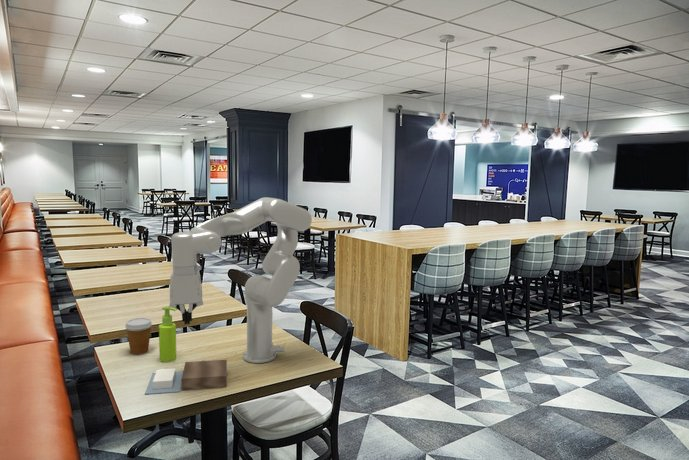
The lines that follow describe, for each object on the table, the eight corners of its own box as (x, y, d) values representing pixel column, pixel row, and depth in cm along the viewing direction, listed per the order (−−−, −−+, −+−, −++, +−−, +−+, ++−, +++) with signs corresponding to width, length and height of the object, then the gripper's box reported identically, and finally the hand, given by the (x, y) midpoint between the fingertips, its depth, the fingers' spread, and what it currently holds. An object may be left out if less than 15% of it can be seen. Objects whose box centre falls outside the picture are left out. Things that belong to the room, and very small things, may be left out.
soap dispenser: (173, 363, 173) (172, 310, 170) (156, 361, 175) (155, 308, 172) (182, 356, 179) (181, 305, 176) (165, 354, 180) (164, 304, 177)
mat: (184, 371, 167) (184, 370, 167) (179, 392, 152) (179, 391, 152) (152, 373, 164) (152, 373, 164) (144, 394, 150) (144, 393, 150)
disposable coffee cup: (148, 356, 178) (147, 325, 177) (122, 356, 178) (120, 325, 176) (156, 346, 188) (155, 317, 186) (131, 346, 187) (130, 317, 185)
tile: (156, 369, 161) (157, 376, 162) (152, 381, 153) (152, 389, 153) (175, 368, 163) (175, 375, 163) (172, 380, 154) (172, 387, 154)
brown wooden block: (226, 370, 169) (226, 359, 168) (226, 387, 156) (226, 375, 156) (185, 372, 166) (185, 362, 165) (181, 390, 153) (181, 378, 153)
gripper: (208, 266, 161) (210, 317, 164) (162, 268, 158) (165, 320, 161) (208, 271, 154) (210, 325, 157) (159, 273, 151) (162, 328, 154)
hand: (187, 322), depth 159 cm, fingers closed
